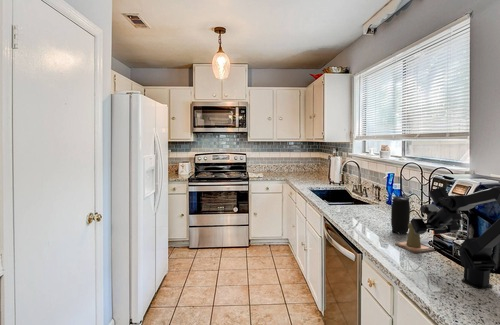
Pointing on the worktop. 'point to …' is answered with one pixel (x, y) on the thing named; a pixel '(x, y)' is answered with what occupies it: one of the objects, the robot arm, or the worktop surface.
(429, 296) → the worktop surface
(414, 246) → the cork
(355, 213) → the worktop surface
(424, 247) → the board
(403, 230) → the portable speaker
